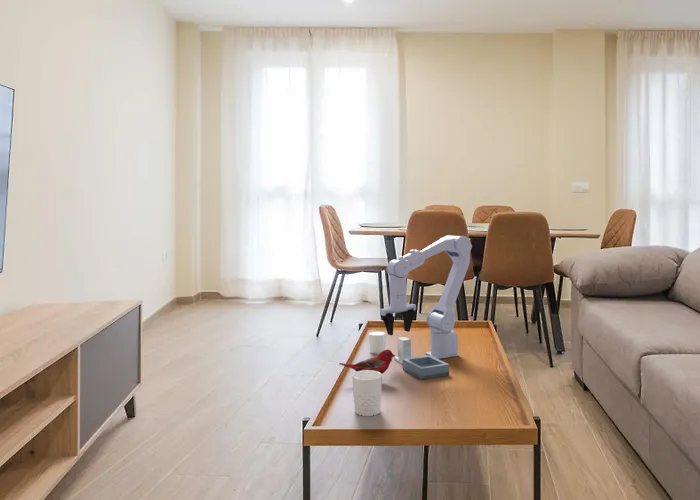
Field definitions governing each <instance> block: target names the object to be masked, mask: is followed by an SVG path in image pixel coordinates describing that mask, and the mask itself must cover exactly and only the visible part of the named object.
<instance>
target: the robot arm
mask: <svg viewBox="0 0 700 500" xmlns="http://www.w3.org/2000/svg"><path fill="white" fill-rule="evenodd" d="M472 248H473V245H472V243H471V241H470V238H468V237H467V236H465V235H452V234H447V235H445V236H443V237H440V238H438V240H436V241H434V242H433V243H432V244H430V245H428V246H426V247H425V248H423V249H422V250H421V249H420V250H419V249H410V250H409V252H408V253H407V254H405V255H403V256H402V255H400V256H398V259H392V260H389V262H388V263H387V267H386V268H385V270H386V274H387V275H388V279H389V305H388V307H384V308H380V309H379V315H380V318H381V319H382V321H383V324H384V326H385V330H386V334H387V335H388V336H393V335H394V324H395V319H396V316H395V315H393V314H398V313H401V314H402V319H403V330H404V331H405V332H408V333H410V331H411V327H412V325H413V324H412V323H413V320H414V318H415V317H416V314H417V311H416V310H417V304H414V303H409V304H407V276H408V274H409V273H410V272H411V271H413V270H414V269H416V268H419V267H420V266H422V265H424V264H425V262H426V261H425V260H426V259H428V258H430V257H433V256H435V255H437V254H440V253H441V252H443V251H444V252H445V253H446V254H447V255H448V256H449V258H450V259H451V261H452V266H451V269H450V272H449V273H448V276H447V279H446V282H445V284H444V288H443V290H442V292H441V295H440V298H439V301H438V303H436V304H435V305H434V306H433V307H432V309H431V310H430V312H429V313H428V314H427V316H426V324H427V325H428V326H429V330H430V332H429V333H430V335H429V336H430V347H429V348H430V351H426V352H425V354H426V355H427V356H428V355H430V356H433V357H435V358H437V359H439V360H441V359H446V358H452V357H453V358H454V357H458V356H460V353H459V340H458V339H459V338H458V333H457V332H456V331H455V330H454V327H455V325H456V324H455V323H456V321H455V318H456V316H457V314H456V312H455V310H454V307H455V304H456V301H457V299H458V296H459V293H460V290H461V288H462V285H463V282H464V279H465V276H466V274H467V271H468V268H469V266H470V262H471V250H472Z"/></svg>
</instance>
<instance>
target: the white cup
mask: <svg viewBox="0 0 700 500" xmlns="http://www.w3.org/2000/svg"><path fill="white" fill-rule="evenodd" d="M351 380H352V392H353V393H352V395H353V402H354V403H353V404H354V412H355V414H357V415H358V416H361V415H362V417H373V415H374V416H376V415H378V414H380V412H381V401H382V387H383V385H382V384H383V383H382V382H383V374H381V373H380V372H377V371H373V370H362V371H357V372H356V371H355V372H353V373H352V375H351Z"/></svg>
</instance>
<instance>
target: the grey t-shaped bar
mask: <svg viewBox="0 0 700 500" xmlns="http://www.w3.org/2000/svg"><path fill="white" fill-rule="evenodd" d="M408 358H412V339H411V338H408V337H406V336H404V337H397V356H395V357H393V360H394V361H396V362H397V363H400V364H401V365H403V359H408Z"/></svg>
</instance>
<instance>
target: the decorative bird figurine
mask: <svg viewBox="0 0 700 500" xmlns="http://www.w3.org/2000/svg"><path fill="white" fill-rule="evenodd" d="M394 357H396V355H395V354H393V352H392V350H391V349H388V348H386V349H385V350H384V351H382V352H381V353H377V355H376V356H373V357H371V358H367V359H363V360H361V361H359V362H357V363H355V364H352V363H342V362H339V363H338V365H340V366H343V367H347V368H350V369H352V370H353V371H355V372H357V371H362V370H373V371H377V372H380V373H381V374H382V375H383V374H384V373H385V372H386V371H387V370H388V369H389V366H390V364H391V362H392V360H393V358H394Z"/></svg>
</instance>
